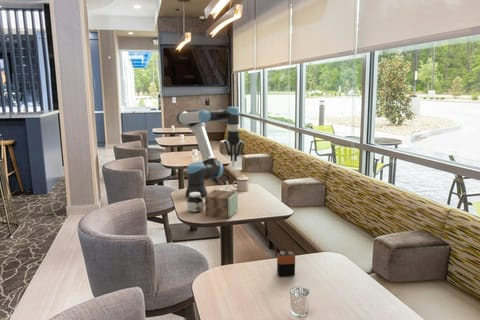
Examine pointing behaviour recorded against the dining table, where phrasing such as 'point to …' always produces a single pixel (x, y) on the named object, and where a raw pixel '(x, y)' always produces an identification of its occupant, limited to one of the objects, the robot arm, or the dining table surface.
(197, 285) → the dining table surface
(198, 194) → the spread jar
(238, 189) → the teacup with lid
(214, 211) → the box
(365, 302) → the dining table surface
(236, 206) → the pale green angular block
